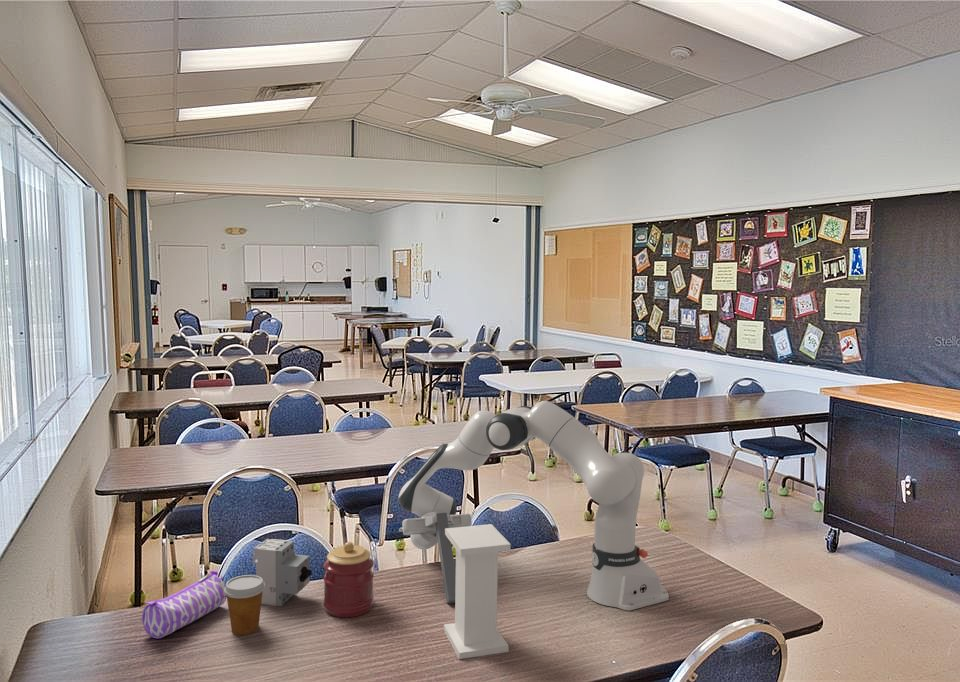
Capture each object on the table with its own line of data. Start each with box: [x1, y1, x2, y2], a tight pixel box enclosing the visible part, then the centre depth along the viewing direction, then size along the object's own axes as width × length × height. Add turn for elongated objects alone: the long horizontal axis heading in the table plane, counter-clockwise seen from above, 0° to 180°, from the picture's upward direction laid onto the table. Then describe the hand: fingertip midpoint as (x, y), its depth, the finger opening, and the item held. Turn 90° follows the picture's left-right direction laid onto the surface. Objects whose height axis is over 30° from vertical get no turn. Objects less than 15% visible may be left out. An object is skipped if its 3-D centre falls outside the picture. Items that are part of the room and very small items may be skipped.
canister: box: [323, 541, 375, 618], centre depth 187 cm, size 13×13×18 cm
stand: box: [443, 523, 512, 660], centre depth 170 cm, size 12×14×26 cm
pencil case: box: [141, 570, 227, 640], centre depth 178 cm, size 22×9×10 cm, turn 159°
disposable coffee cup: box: [224, 574, 265, 636], centre depth 175 cm, size 10×10×12 cm
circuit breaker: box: [252, 538, 313, 607], centre depth 191 cm, size 8×14×15 cm, turn 78°
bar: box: [435, 513, 456, 604], centre depth 196 cm, size 3×24×3 cm
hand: (442, 518), depth 200 cm, fingers closed on bar, 3 cm apart
